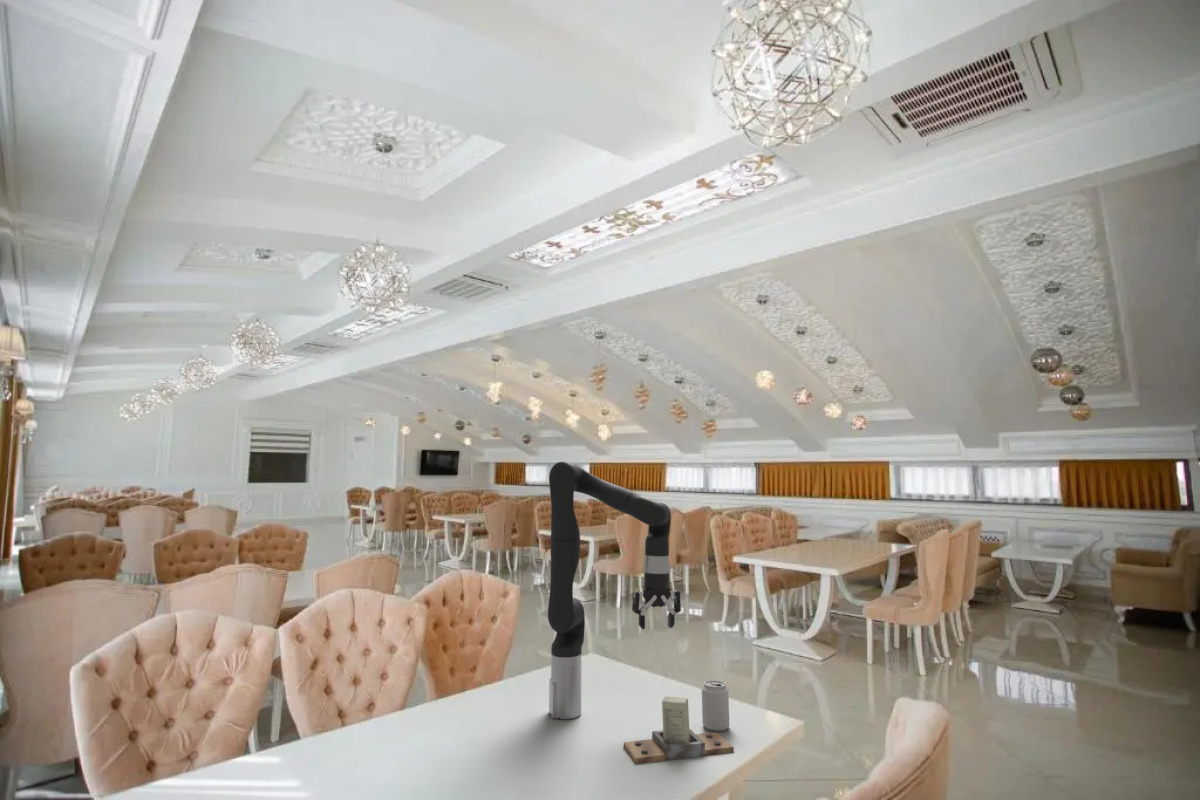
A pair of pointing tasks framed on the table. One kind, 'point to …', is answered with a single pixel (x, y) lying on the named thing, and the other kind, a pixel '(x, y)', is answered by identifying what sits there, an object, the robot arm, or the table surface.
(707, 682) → the can
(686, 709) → the skincare box
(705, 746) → the mounting bracket
